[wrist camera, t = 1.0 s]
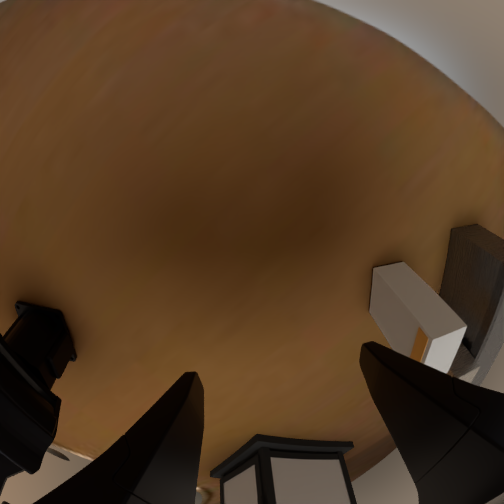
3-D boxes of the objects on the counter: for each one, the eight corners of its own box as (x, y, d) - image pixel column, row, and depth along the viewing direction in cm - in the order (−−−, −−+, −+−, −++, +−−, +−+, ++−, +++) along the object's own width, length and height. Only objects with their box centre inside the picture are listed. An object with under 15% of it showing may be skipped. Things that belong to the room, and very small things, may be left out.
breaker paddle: (368, 312, 23) (414, 386, 15) (372, 267, 21) (432, 339, 13) (397, 304, 23) (447, 372, 15) (404, 261, 21) (467, 325, 13)
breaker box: (391, 383, 29) (418, 439, 21) (423, 233, 21) (494, 287, 12) (437, 365, 29) (468, 413, 21) (477, 224, 21) (541, 265, 12)
